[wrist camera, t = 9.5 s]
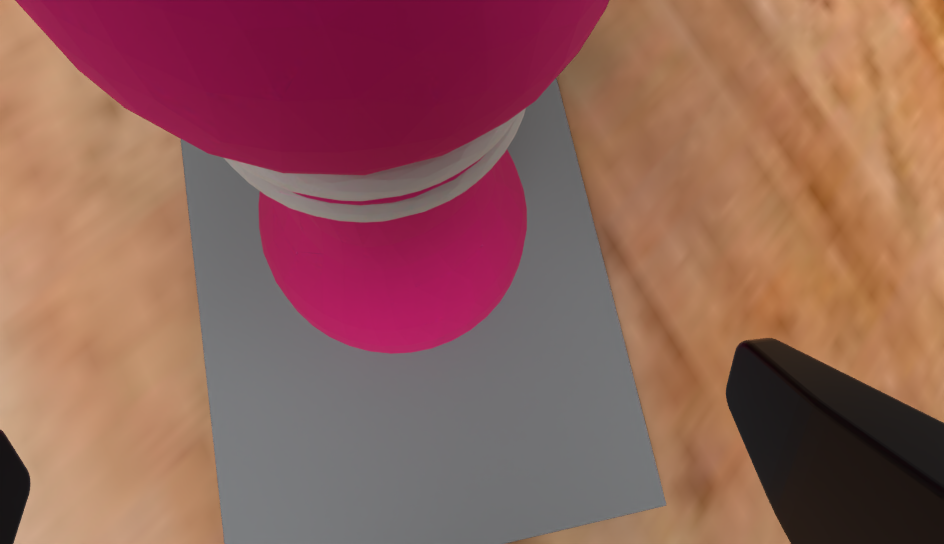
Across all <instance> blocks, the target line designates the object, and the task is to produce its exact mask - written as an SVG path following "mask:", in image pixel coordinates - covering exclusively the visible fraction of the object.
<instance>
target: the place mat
mask: <svg viewBox="0 0 944 544" xmlns="http://www.w3.org/2000/svg"><path fill="white" fill-rule="evenodd" d="M181 146H182V156H183V165H184V174H185V183H186V193H187V202H188V211H189V220H190V230H191V239H192V248H193V257H194V266H195V276H196V285H197V294H198V303H199V313H200V322H201V331H202V340H203V350H204V359H205V368H206V377H207V387H208V396H209V405H210V414H211V423H212V433H213V442H214V451H215V460H216V470H217V479H218V488H219V497H220V507H221V516H222V525H223V534H224V543H225V544H505V543H509V542H514V541H518V540H522V539H526V538H531V537H535V536H539V535H543V534H548V533H552V532H556V531H560V530H564V529H569V528H573V527H577V526H581V525H586V524H590V523H594V522H598V521H603V520H607V519H611V518H615V517H620V516H624V515H628V514H632V513H637V512H641V511H645V510H649V509H654V508H658V507H662V506H666V502H665V498H664V494H663V490H662V486H661V482H660V478H659V474H658V471H657V467H656V463H655V459H654V455H653V451H652V447H651V443H650V439H649V436H648V432H647V428H646V424H645V420H644V416H643V412H642V408H641V405H640V401H639V397H638V393H637V389H636V385H635V381H634V377H633V373H632V370H631V366H630V362H629V358H628V354H627V350H626V346H625V342H624V339H623V335H622V331H621V327H620V323H619V319H618V315H617V311H616V308H615V304H614V300H613V296H612V292H611V288H610V284H609V280H608V276H607V273H606V269H605V265H604V261H603V257H602V253H601V249H600V245H599V242H598V238H597V234H596V230H595V226H594V222H593V218H592V214H591V211H590V207H589V203H588V199H587V195H586V191H585V187H584V183H583V179H582V176H581V172H580V168H579V164H578V160H577V156H576V152H575V148H574V145H573V141H572V137H571V133H570V129H569V125H568V121H567V117H566V113H565V110H564V106H563V102H562V98H561V94H560V90H559V86H558V82H557V79H556V78H555V80H554V81H553V82H552V83H551V84H550V85H549V86H548V88H547V89H546V90H545V91H544V92H543V93H542V94H541V95H540V97H539V98H538V99H537V100H536V101H535V102H533V103H532V104H531V105H529V106H528V107H526V109H525V113H524V117H523V119H522V121H521V124H520V126H519V128H518V131H517V133H516V135H515V137H514V139H513V140H512V142H511V143H510V145H509V146H508V148H507V150H508V152H509V154H510V156H511V158H512V160H513V162H514V164H515V167H516V169H517V172H518V175H519V177H520V180H521V183H522V186H523V189H524V195H525V201H526V206H527V231H526V236H525V241H524V247H523V252H522V256H521V260H520V263H519V267H518V269H517V271H516V274H515V276H514V278H513V281H512V283H511V285H510V287H509V289H508V290H507V292H506V293H505V295H504V296H503V298H502V300H501V301H500V303H499V304H498V305H497V306H496V307H495V308H494V309H493V310H492V311H491V313H490V314H489V315H488V316H487V317H486V318H485V319H484V320H482V321H481V322H480V323H479V324H477V325H476V326H475V327H474V328H473V329H471V330H470V331H468V332H466V333H465V334H463V335H461V336H459V337H458V338H456V339H454V340H452V341H450V342H448V343H445V344H442V345H439V346H437V347H434V348H431V349H426V350H422V351H417V352H412V353H393V354H390V353H380V352H371V351H367V350H363V349H359V348H355V347H352V346H349V345H346V344H344V343H342V342H340V341H337V340H335V339H333V338H331V337H329V336H328V335H326V334H324V333H323V332H321V331H320V330H318V329H317V328H315V327H314V326H313V325H311V324H310V323H309V322H308V321H307V320H306V319H305V318H304V317H303V316H302V315H301V314H300V313H298V311H297V310H296V309H295V308H294V306H293V305H292V304H291V302H290V301H289V300H288V299H287V297H286V296H285V294H284V293H283V291H282V290H281V288H280V287H279V285H278V284H277V282H276V281H275V278H274V276H273V274H272V271H271V269H270V267H269V264H268V262H267V260H266V258H265V255H264V253H263V247H262V241H261V236H260V230H259V193H260V191H259V190H258V189H256V188H255V187H254V186H252V185H251V184H249V183H248V182H247V181H246V180H245V179H244V178H243V177H242V176H241V175H240V174H239V173H238V172H237V171H236V170H234V169H233V168H232V167H231V166H230V164H229V163H228V162H227V161H226V160H225V159H224V158H223V157H219V156H215V155H211V154H208V153H206V152H204V151H203V150H201V149H199V148H197V147H195V146H193V145H192V144H190V143H188V142H186V141H184V140H183V139H181Z"/></svg>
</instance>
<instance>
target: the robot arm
mask: <svg viewBox="0 0 944 544" xmlns="http://www.w3.org/2000/svg"><path fill="white" fill-rule="evenodd" d="M726 398H727V403H728V406H729V409H730V411H731V414H732V416H733V418H734V421H735V423H736V425H737V428H738V430H739V432H740V435H741V437H742V439H743V442H744V444H745V446H746V449H747V451H748V453H749V456H750V458H751V460H752V463H753V465H754V467H755V470H756V472H757V474H758V477H759V479H760V481H761V484H762V486H763V488H764V491H765V493H766V495H767V498H768V500H769V502H770V504H771V506H772V508H773V510H774V513H775V515H776V516H777V518H778V520H779V522H780V524H781V526H782V528H783V530H784V532H785V533H786V535H787V537H788V539H789V541H790V542H791V544H944V423H943V422H941V421H939V420H937V419H935V418H933V417H931V416H929V415H927V414H925V413H923V412H921V411H919V410H917V409H915V408H913V407H911V406H909V405H907V404H905V403H903V402H901V401H899V400H897V399H895V398H893V397H891V396H889V395H887V394H885V393H883V392H881V391H879V390H877V389H875V388H873V387H871V386H869V385H867V384H865V383H863V382H861V381H859V380H857V379H855V378H853V377H851V376H849V375H846V374H844V373H842V372H840V371H838V370H836V369H834V368H832V367H830V366H828V365H826V364H824V363H822V362H820V361H818V360H816V359H814V358H812V357H810V356H808V355H806V354H804V353H802V352H800V351H798V350H796V349H794V348H792V347H790V346H788V345H786V344H784V343H782V342H780V341H778V340H776V339H773V338H763V339H754V340H746V341H743V342H741V343H740V344H739V345H738V346H737V348H736V351H735V355H734V359H733V363H732V367H731V371H730V375H729V379H728V383H727V387H726ZM29 491H30V476H29V472H28V470H27V468H26V467H25V465H24V464H23V462H22V460H21V459H20V457H19V456H18V454H17V453H16V451H15V449H14V448H13V446H12V445H11V443H10V441H9V440H8V438H7V437H6V435H5V434H4V432H3V431H2V430H0V544H13V543H14V540H15V537H16V533H17V530H18V527H19V524H20V521H21V518H22V515H23V511H24V508H25V505H26V502H27V499H28V496H29Z"/></svg>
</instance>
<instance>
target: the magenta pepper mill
mask: <svg viewBox="0 0 944 544" xmlns="http://www.w3.org/2000/svg"><path fill="white" fill-rule="evenodd" d="M15 1H16V2H17V3H18V4H19V5H20V6H21V7H22V8H23V9H24V10H25V12H26V13H27V14H28V15H29V16H30V17H31V18H32V19H33V20H34V21H35V23H36V24H37V25H38V26H39V27H40V28H41V29H42V30H43V31H44V32H45V34H46V35H47V36H48V37H49V38H50V39H51V40H52V41H53V42H54V43H55V45H56V46H57V47H58V48H59V49H60V50H61V51H62V52H63V53H64V55H65V56H66V57H67V58H68V59H69V60H70V61H71V62H72V63H73V64H74V66H75V67H76V68H77V69H78V70H79V71H80V72H82V73H83V74H84V75H85V76H87V77H88V78H89V79H90V80H91V81H93V82H94V83H95V84H96V85H98V86H99V87H100V88H101V89H102V90H104V91H105V92H106V93H107V94H109V95H110V96H111V97H112V98H113V99H115V100H116V101H117V102H118V103H120V104H121V105H122V106H123V107H124V108H126V109H128V110H130V111H132V112H133V113H135V114H137V115H139V116H141V117H142V118H144V119H146V120H148V121H150V122H152V123H153V124H155V125H157V126H159V127H161V128H163V129H164V130H166V131H168V132H170V133H172V134H173V135H175V136H177V137H179V138H181V139H183V140H184V141H186V142H188V143H190V144H192V145H193V146H195V147H197V148H199V149H201V150H203V151H204V152H206V153H208V154H211V155H215V156H219V157H223V158H224V159H225V160H226V161H227V162H228V163H229V164H230V166H231V167H232V168H233V169H234V170H236V171H237V172H238V173H239V174H240V175H241V176H242V177H243V178H244V179H245V180H246V181H247V182H248V183H249V184H251V185H252V186H254V187H255V188H256V189H258V190H259V191H260V193H259V230H260V236H261V241H262V247H263V253H264V255H265V258H266V260H267V262H268V264H269V267H270V269H271V271H272V274H273V276H274V278H275V281H276V282H277V284H278V285H279V287H280V288H281V290H282V291H283V293H284V294H285V296H286V297H287V299H288V300H289V301H290V302H291V304H292V305H293V306H294V308H295V309H296V310H297V311H298V313H300V314H301V315H302V316H303V317H304V318H305V319H306V320H307V321H308V322H309V323H310V324H311V325H313V326H314V327H315V328H317V329H318V330H320V331H321V332H323V333H324V334H326V335H328V336H329V337H331V338H333V339H335V340H337V341H340V342H342V343H344V344H346V345H349V346H352V347H355V348H359V349H363V350H367V351H371V352H380V353H390V354H393V353H412V352H417V351H422V350H426V349H431V348H434V347H437V346H439V345H442V344H445V343H448V342H450V341H452V340H454V339H456V338H458V337H459V336H461V335H463V334H465V333H466V332H468V331H470V330H471V329H473V328H474V327H475V326H476V325H477V324H479V323H480V322H481V321H482V320H484V319H485V318H486V317H487V316H488V315H489V314H490V313H491V311H492V310H493V309H494V308H495V307H496V306H497V305H498V304H499V303H500V301H501V300H502V298H503V296H504V295H505V293H506V292H507V290H508V289H509V287H510V285H511V283H512V281H513V278H514V276H515V274H516V271H517V269H518V267H519V263H520V260H521V256H522V252H523V247H524V241H525V236H526V231H527V206H526V201H525V195H524V189H523V186H522V183H521V180H520V177H519V175H518V172H517V169H516V167H515V164H514V162H513V160H512V158H511V156H510V154H509V152H508V150H507V148H508V146H509V145H510V143H511V142H512V140H513V139H514V137H515V135H516V133H517V131H518V128H519V126H520V124H521V121H522V119H523V117H524V113H525V109H526V107H528V106H529V105H531V104H532V103H533V102H535V101H536V100H537V99H538V98H539V97H540V95H541V94H542V93H543V92H544V91H545V90H546V89H547V88H548V86H549V85H550V84H551V83H552V82H553V81H554V80H555V78H556V77H557V76H558V75H559V74H560V73H561V72H562V71H563V69H564V68H565V67H566V66H567V65H568V64H569V63H570V62H571V60H572V59H573V58H574V57H575V56H576V55H577V54H578V52H579V51H580V49H581V48H582V46H583V45H584V43H585V41H586V40H587V38H588V37H589V35H590V33H591V32H592V30H593V29H594V27H595V25H596V24H597V22H598V21H599V19H600V17H601V16H602V14H603V13H604V11H605V9H606V7H607V5H608V2H609V0H15Z"/></svg>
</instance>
